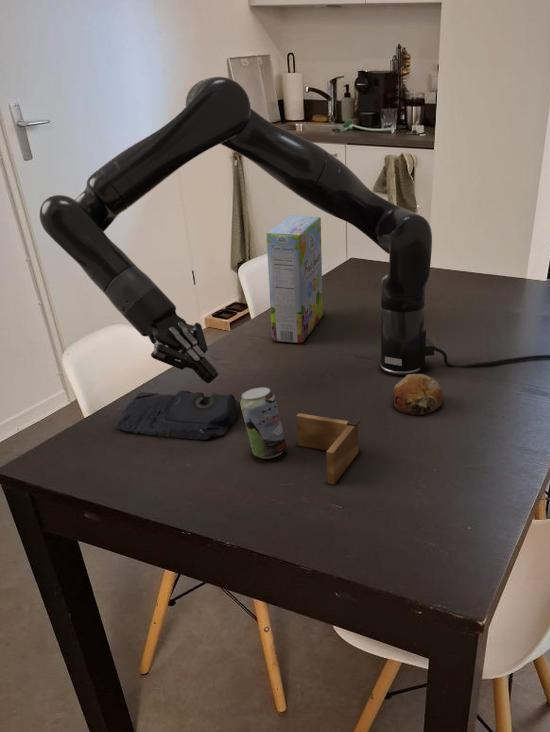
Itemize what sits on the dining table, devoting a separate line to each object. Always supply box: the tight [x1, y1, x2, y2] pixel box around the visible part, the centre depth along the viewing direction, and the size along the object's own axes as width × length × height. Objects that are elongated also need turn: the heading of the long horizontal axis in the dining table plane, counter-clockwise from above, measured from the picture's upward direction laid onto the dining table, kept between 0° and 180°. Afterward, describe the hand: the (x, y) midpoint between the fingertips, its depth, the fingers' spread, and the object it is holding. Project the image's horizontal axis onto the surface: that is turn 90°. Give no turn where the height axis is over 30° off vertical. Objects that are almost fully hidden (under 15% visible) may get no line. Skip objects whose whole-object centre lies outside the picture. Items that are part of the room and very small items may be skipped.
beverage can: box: [239, 386, 287, 460], centre depth 119 cm, size 6×7×12 cm
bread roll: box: [392, 373, 443, 416], centre depth 137 cm, size 10×10×8 cm
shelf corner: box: [295, 412, 361, 485], centre depth 118 cm, size 12×12×6 cm
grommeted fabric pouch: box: [114, 390, 240, 441], centre depth 133 cm, size 15×22×5 cm
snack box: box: [265, 214, 324, 344], centre depth 170 cm, size 22×9×26 cm, turn 170°
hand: (213, 379), depth 118 cm, fingers closed
